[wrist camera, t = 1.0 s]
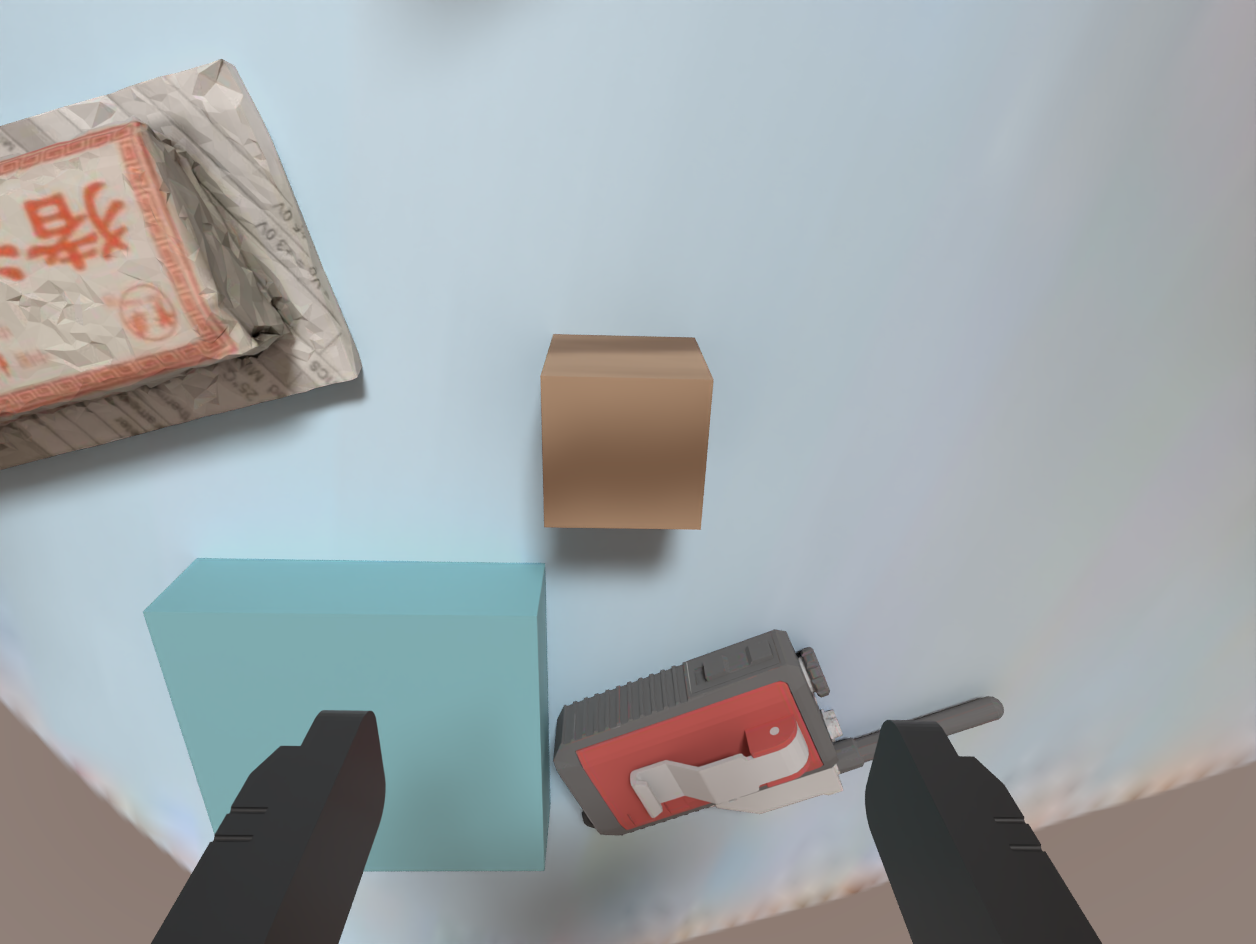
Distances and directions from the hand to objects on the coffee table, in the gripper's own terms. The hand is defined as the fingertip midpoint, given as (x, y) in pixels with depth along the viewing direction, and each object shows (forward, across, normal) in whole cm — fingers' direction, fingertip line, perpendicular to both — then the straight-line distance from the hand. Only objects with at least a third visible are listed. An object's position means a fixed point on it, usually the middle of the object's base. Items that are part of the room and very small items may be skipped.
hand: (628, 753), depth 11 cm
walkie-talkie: (+17, -7, +15) cm, 23 cm away
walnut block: (+16, 0, 0) cm, 16 cm away
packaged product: (+17, +19, -4) cm, 26 cm away
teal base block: (+16, +10, +14) cm, 24 cm away
